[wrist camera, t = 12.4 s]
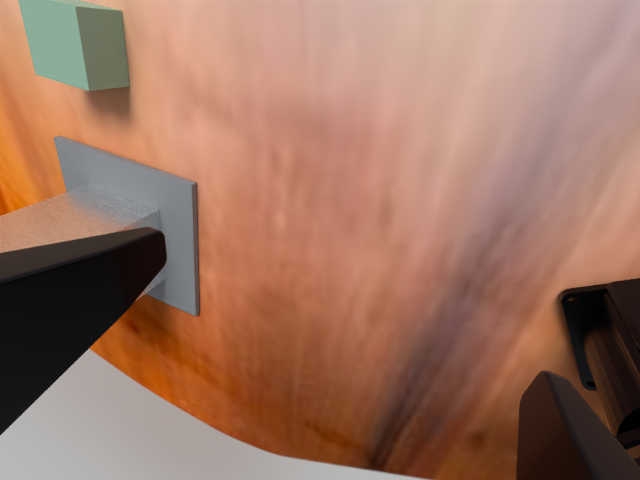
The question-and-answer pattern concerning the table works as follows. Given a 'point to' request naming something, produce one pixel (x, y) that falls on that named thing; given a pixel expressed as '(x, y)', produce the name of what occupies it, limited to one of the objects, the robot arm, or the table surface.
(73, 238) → the silver grey block
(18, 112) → the table surface
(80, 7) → the pale green block
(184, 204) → the rubber mat
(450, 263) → the table surface
